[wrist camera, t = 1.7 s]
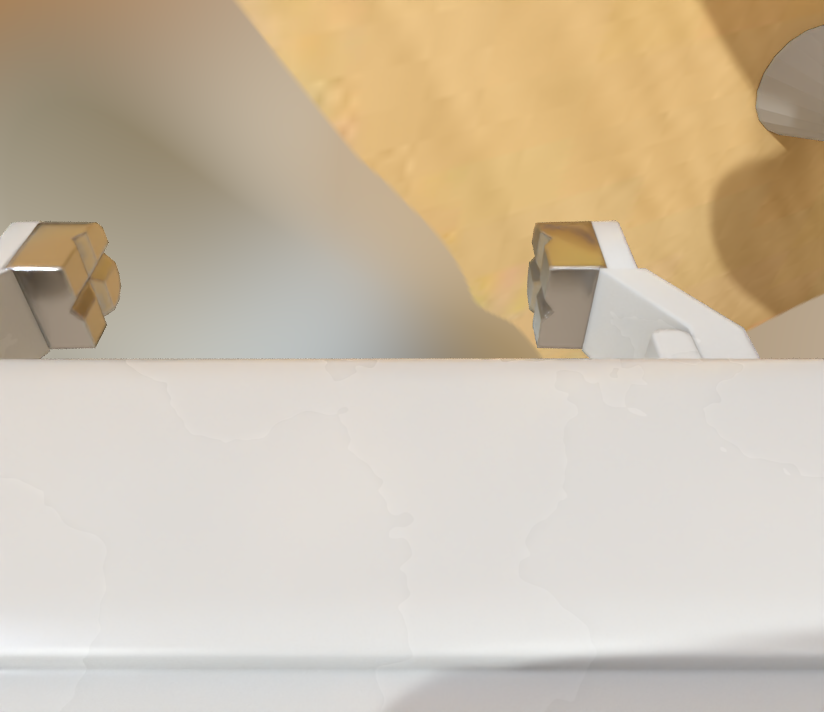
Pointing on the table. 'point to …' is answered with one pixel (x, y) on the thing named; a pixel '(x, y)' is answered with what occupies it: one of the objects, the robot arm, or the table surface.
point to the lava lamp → (795, 88)
